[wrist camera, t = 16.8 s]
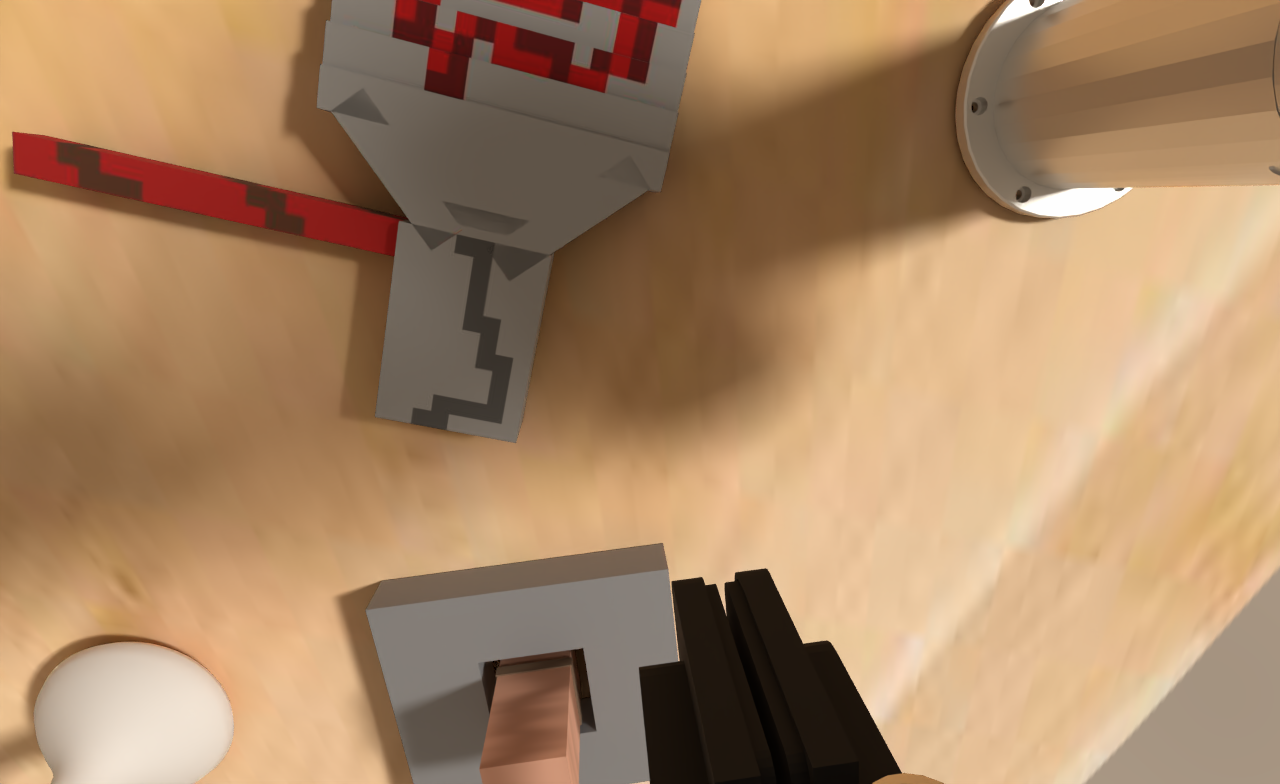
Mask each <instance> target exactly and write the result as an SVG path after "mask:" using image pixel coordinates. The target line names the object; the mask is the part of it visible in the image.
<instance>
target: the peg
mask: <svg viewBox="0 0 1280 784" xmlns="http://www.w3.org/2000/svg"><path fill="white" fill-rule="evenodd" d="M495 676H496V686H495V691H494V696H493V701H492V706H491V711H490V717H489V722H488V727H487V732H486V737H485V742H484V747H483V752H482V757H481V763H480V768H479V770H480V775H481V779H482V783H483V784H579V752H580V725H582V714H581V708H580V703H581V684H580V678H579V672H578V666H577V660H576V654H575V649H574V650H567V651H559V652H552V653H545V654H538V655H531V656H524V657H516V658H509V659H502V660H500V665H499V667H497V670H496V675H495Z"/></svg>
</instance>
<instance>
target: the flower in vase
mask: <svg viewBox="0 0 1280 784" xmlns="http://www.w3.org/2000/svg"><path fill="white" fill-rule="evenodd" d="M34 725H35V731H36V737H37V742H38V745H39V747H40V750H41V752H42V754H43V756H44V758H45V760H46V762H47V763H48V765H49V767H50V769H51V770H52V772H53V779H52V782H51V784H194V783H195V782H197V781H199V780H200V779H201V778H203V777H204V776H205V775H207V774H208V773H209V772H210V771H212V770H213V769H214V768H215V767H216V766H217V765H218V764H219V763H220V762H221V761H222V760H223V758H224V757H225V755H226V754H227V752H228V750H229V748H230V746H231V743H232V739H233V734H234V721H233V713H232V708H231V704H230V700H229V698H228V696H227V694H226V692H225V690H224V688H223V687H222V685H221V684H220V682H219V681H218V680H217V679H216V678H215V677H214V675H213V674H211V673H210V672H209V671H208V670H207V669H206V668H205V667H204V666H202V665H201V664H200V663H198V662H197V661H195V660H194V659H192V658H190V657H188V656H187V655H185V654H182V653H180V652H178V651H176V650H173V649H170V648H167V647H164V646H160V645H156V644H152V643H144V642H116V643H110V644H104V645H99V646H94V647H90V648H87V649H84V650H81V651H79V652H77V653H75V654H73V655H71V656H69V657H68V658H66V659H65V660H63V661H62V662H61V663H60V664H58V665H57V666H56V667H55V668H54V669H53V671H52V672H51V673H50V674H49V675H48V677H47V679H46V681H45V682H44V684H43V686H42V688H41V690H40V692H39V694H38V697H37V700H36V703H35V708H34Z"/></svg>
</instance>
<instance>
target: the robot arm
mask: <svg viewBox="0 0 1280 784" xmlns="http://www.w3.org/2000/svg"><path fill="white" fill-rule="evenodd" d="M1029 3H1030V4H1029ZM972 105H973V107H974V109H973V111H972V109H971V106H972ZM955 119H956V130H957V139H958V143H959V146H960V150H961V153H962V157H963V160H964V162H965V164H966V166H967V168H968V170H969V172H970V174H971V176H972V178H973V179H974V180H975V182H976V183H977V184H978V185H979V186H980V188H981V189H982V190H983V191H984V192H985V194H986V195H988V196H989V197H990V198H992V199H993V200H994V201H996V202H997V203H998V204H1000V205H1001V206H1003V207H1005V208H1007V209H1009V210H1012V211H1014V212H1016V213H1018V214H1022V215H1027V216H1032V217H1037V218H1066V217H1074V216H1080V215H1083V214H1086V213H1090V212H1093V211H1096V210H1099V209H1101V208H1103V207H1105V206H1107V205H1109V204H1111V203H1112V202H1114V201H1116V200H1118V199H1120V198H1121V197H1123V196H1124V195H1125V194H1127V193H1128V192H1129V191H1131V190H1132V189H1133V188H1145V187H1201V186H1257V185H1280V0H1006V1H1005V2H1004V3H1003V4H1002V5H1001V6H1000V7H999V8H998V10H997V11H996V12H995V13H994V14H993V15H992V16H991V18H990V19H989V20H988V21H987V22H986V24H985V26H984V27H983V29H982V30H981V32H980V34H979V35H978V37H977V38H976V40H975V42H974V43H973V46H972V48H971V50H970V53H969V55H968V57H967V60H966V62H965V64H964V67H963V70H962V74H961V78H960V82H959V86H958V90H957V100H956V113H955ZM1016 193H1017V195H1016ZM672 594H673V603H674V613H675V622H676V631H677V641H678V650H679V659H680V661H678V662H671V663H664V664H657V665H650V666H643V667H639V677H640V687H641V697H642V707H643V717H644V727H645V737H646V747H647V757H648V767H649V777H650V784H944V783H942V782H939V781H937V780H934V779H931V778H929V777H926V776H923V775H915V774H907V773H902V772H901V770H900V769H899V767H898V765H897V763H896V761H895V759H894V757H893V756H892V754H891V752H890V750H889V748H888V746H887V744H886V743H885V741H884V739H883V737H882V735H881V733H880V732H879V730H878V728H877V726H876V724H875V722H874V720H873V719H872V717H871V715H870V713H869V711H868V709H867V707H866V706H865V704H864V702H863V700H862V698H861V696H860V694H859V693H858V691H857V689H856V687H855V685H854V683H853V681H852V680H851V678H850V676H849V674H848V672H847V670H846V668H845V667H844V665H843V663H842V661H841V659H840V657H839V655H838V654H837V652H836V650H835V648H834V647H833V645H832V644H831V643H830V642H829V641H820V642H813V643H806V644H803V643H802V640H801V638H800V636H799V634H798V632H797V630H796V628H795V626H794V624H793V621H792V619H791V617H790V615H789V613H788V611H787V609H786V607H785V605H784V602H783V600H782V598H781V596H780V594H779V592H778V590H777V588H776V586H775V584H774V581H773V579H772V577H771V575H770V573H769V571H768V570H767V569H766V568H765V569H758V570H751V571H743V572H736V573H735V581H734V582H726V583H725V601H726V613H725V610H724V607H723V604H722V601H721V598H720V595H719V592H718V589H717V586H716V584H712V585H705V583H704V580H703V578H702V577H699V578H692V579H685V580H677V581H672ZM726 614H727V616H726Z"/></svg>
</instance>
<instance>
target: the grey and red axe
mask: <svg viewBox="0 0 1280 784" xmlns="http://www.w3.org/2000/svg"><path fill="white" fill-rule="evenodd" d="M700 3H701V0H332V7H331V19H330V21H328V20H326V27H325V39H324V51H323V63H322V64H320V72H319V84H318V96H317V108H319V109H322V110H325V111H328V112H331V113H332V114H333V115H334V116H335V118H336V119H337V121H338V122H339V123H340V125H341V126H342V127H343V129H344V130H345V132H346V133H347V134H348V136H349V137H350V139H351V140H352V141H353V143H354V144H355V146H356V147H357V148H358V150H359V151H360V152H361V154H362V155H363V157H364V158H365V159H366V161H367V162H368V164H369V165H370V166H371V168H372V169H373V171H374V172H375V173H376V175H377V176H378V177H379V179H380V180H381V182H382V183H383V184H384V186H385V187H386V189H387V190H388V191H389V193H390V194H391V196H392V197H393V198H394V200H395V201H396V203H397V204H398V205H399V207H400V208H401V209H402V211H403V212H404V214H405V215H406V216H407V217H402V216H398V215H393V214H389V213H385V212H380V211H376V210H371V209H367V208H363V207H358V206H354V205H349V204H345V203H340V202H336V201H332V200H327V199H323V198H318V197H314V196H310V195H305V194H301V193H296V192H292V191H288V190H283V189H279V188H274V187H270V186H266V185H261V184H257V183H252V182H248V181H243V180H239V179H235V178H230V177H226V176H221V175H217V174H213V173H208V172H204V171H199V170H195V169H191V168H186V167H182V166H177V165H173V164H168V163H164V162H160V161H155V160H151V159H146V158H142V157H138V156H133V155H129V154H124V153H120V152H116V151H111V150H107V149H102V148H98V147H94V146H89V145H85V144H80V143H76V142H71V141H67V140H63V139H58V138H54V137H49V136H45V135H36V134H27V133H18V132H12V136H13V162H14V174H19V175H24V176H28V177H33V178H37V179H42V180H46V181H51V182H56V183H60V184H65V185H69V186H74V187H79V188H83V189H88V190H92V191H97V192H101V193H106V194H111V195H115V196H120V197H124V198H129V199H134V200H138V201H143V202H147V203H152V204H156V205H161V206H166V207H170V208H175V209H179V210H184V211H189V212H193V213H198V214H202V215H207V216H211V217H216V218H221V219H225V220H230V221H234V222H239V223H244V224H248V225H253V226H257V227H262V228H266V229H271V230H276V231H280V232H285V233H289V234H294V235H299V236H303V237H308V238H312V239H317V240H321V241H326V242H331V243H335V244H340V245H344V246H349V247H354V248H358V249H363V250H367V251H372V252H376V253H381V254H386V255H390V256H395V257H394V265H393V273H392V281H391V289H390V298H389V306H388V314H387V322H386V330H385V339H384V347H383V355H382V363H381V371H380V380H379V388H378V396H377V404H376V412H375V417H378V418H383V419H389V420H394V421H399V422H405V423H410V424H416V425H421V426H427V427H432V428H437V429H443V430H448V431H454V432H459V433H464V434H470V435H475V436H481V437H486V438H492V439H497V440H502V441H508V442H513V443H516V441H517V438H518V434H519V431H520V428H521V425H522V421H523V415H524V410H525V405H526V400H527V394H528V389H529V384H530V378H531V373H532V368H533V363H534V357H535V352H536V347H537V342H538V336H539V331H540V326H541V320H542V315H543V310H544V305H545V299H546V294H547V289H548V283H549V278H550V273H551V268H552V262H553V257H554V252H555V251H557V250H558V249H560V248H563V246H564V245H566V244H567V243H569V242H570V241H572V240H573V239H575V238H576V237H578V236H580V235H581V234H583V233H584V232H586V231H587V230H589V229H590V228H592V227H593V226H595V225H596V224H598V223H599V222H601V221H602V220H604V219H607V217H609V216H610V215H612V214H613V213H615V212H616V211H618V210H619V209H621V208H622V207H624V206H625V205H627V204H628V203H630V202H631V201H633V200H635V199H636V198H638V197H639V196H641V195H642V194H644V193H645V192H647V191H651V192H661V189H662V185H663V180H664V176H665V172H666V167H667V163H668V159H669V154H670V153H669V152H670V148H671V143H672V139H673V135H674V130H675V126H676V121H677V117H678V108H679V104H680V100H681V95H682V91H683V87H684V82H685V78H686V69H687V65H688V60H689V56H690V52H691V47H692V43H693V38H694V34H695V33H694V30H695V25H696V21H697V17H698V12H699V8H700Z"/></svg>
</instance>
